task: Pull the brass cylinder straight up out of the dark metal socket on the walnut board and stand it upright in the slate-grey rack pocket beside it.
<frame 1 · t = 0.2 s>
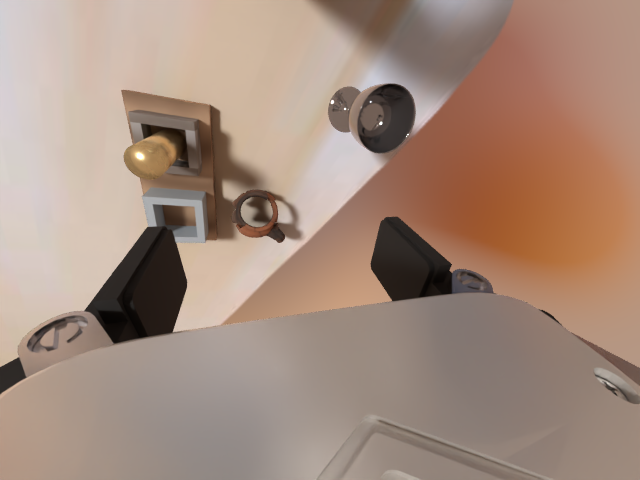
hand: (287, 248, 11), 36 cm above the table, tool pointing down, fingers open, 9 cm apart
pottery mug: (259, 213, 49), on the table
tool board: (180, 176, 41), on the table
brass cylinder: (173, 142, 37), point 1 cm above the table, touching tool board
wine glass: (347, 110, 42), on the table
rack: (183, 207, 44), resting on tool board
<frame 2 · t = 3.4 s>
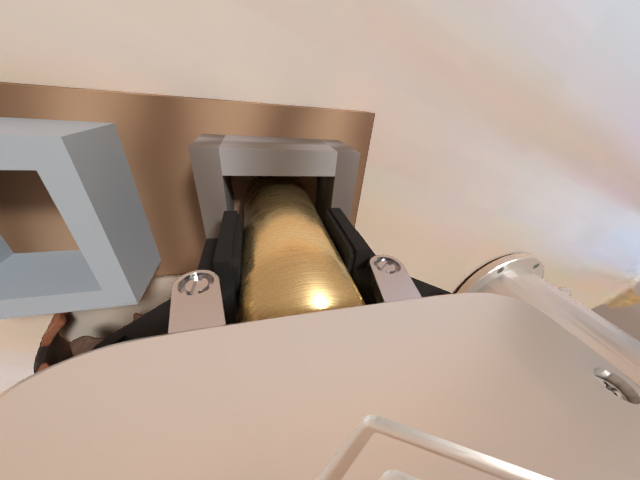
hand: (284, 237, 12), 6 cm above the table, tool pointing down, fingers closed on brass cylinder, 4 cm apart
pottery mug: (129, 332, 21), on the table
tool board: (181, 192, 15), on the table
brass cylinder: (276, 200, 16), point 2 cm above the table, touching gripper, tool board
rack: (69, 194, 14), resting on tool board
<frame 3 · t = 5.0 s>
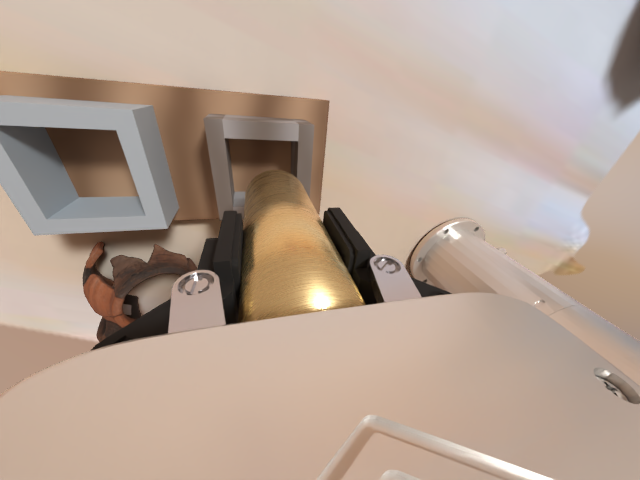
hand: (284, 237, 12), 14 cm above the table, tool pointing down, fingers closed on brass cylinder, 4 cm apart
pottery mug: (146, 270, 27), on the table
tool board: (193, 158, 22), on the table
brass cylinder: (276, 199, 16), point 10 cm above the table, touching gripper
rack: (116, 156, 20), resting on tool board
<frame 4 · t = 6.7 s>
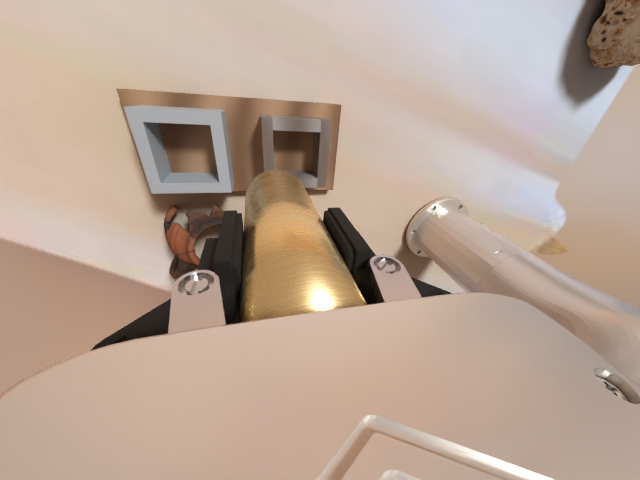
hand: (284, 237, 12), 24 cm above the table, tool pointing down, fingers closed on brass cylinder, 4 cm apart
pottery mug: (201, 229, 36), on the table
tool board: (245, 146, 31), on the table
brass cylinder: (276, 199, 16), point 19 cm above the table, touching gripper
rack: (195, 145, 29), resting on tool board
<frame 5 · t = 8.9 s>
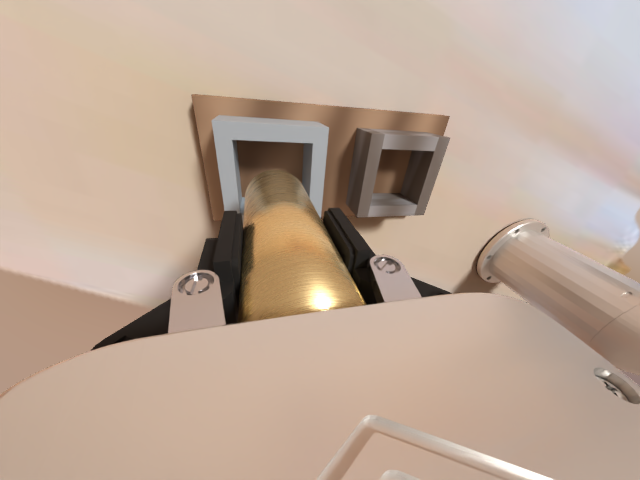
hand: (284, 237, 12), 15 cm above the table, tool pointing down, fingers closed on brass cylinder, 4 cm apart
tool board: (327, 164, 25), on the table
brass cylinder: (276, 199, 16), point 10 cm above the table, touching gripper
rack: (270, 163, 24), resting on tool board
when the fingers open (8 cm above the table, at t = 10.4 s): brass cylinder drops 2 cm, resting on tool board.
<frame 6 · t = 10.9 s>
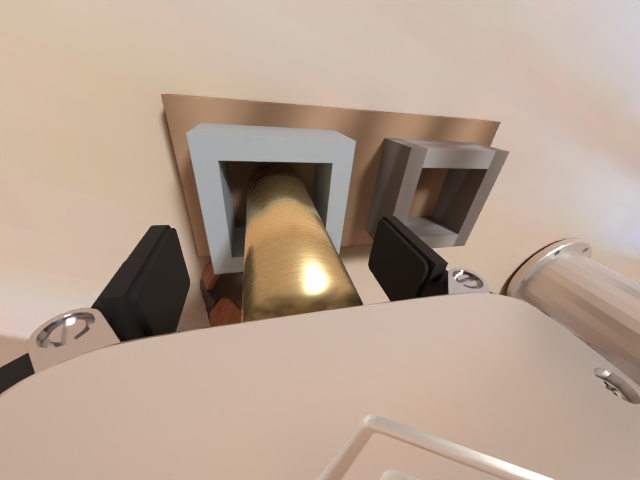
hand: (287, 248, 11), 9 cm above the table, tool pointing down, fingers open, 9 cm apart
pottery mug: (251, 288, 24), on the table
tool board: (344, 182, 20), on the table
brass cylinder: (276, 190, 17), point 2 cm above the table, touching tool board
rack: (272, 182, 19), resting on tool board
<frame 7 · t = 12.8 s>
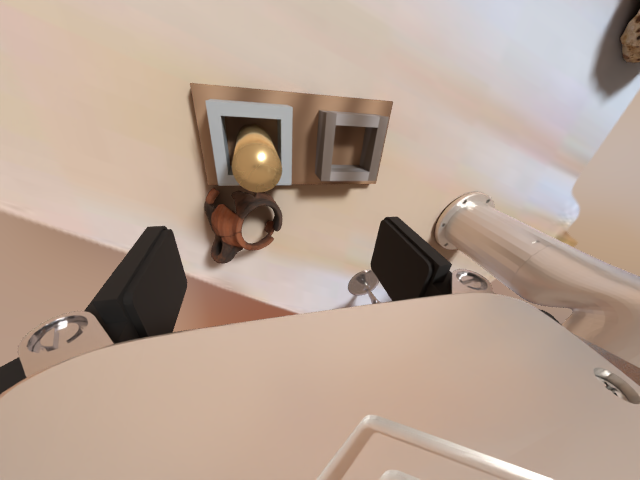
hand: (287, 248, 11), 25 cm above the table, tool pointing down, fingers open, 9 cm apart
pottery mug: (239, 214, 35), on the table
tool board: (298, 140, 32), on the table
brass cylinder: (254, 141, 29), point 2 cm above the table, touching tool board
wine glass: (363, 282, 50), on the table
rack: (252, 139, 30), resting on tool board
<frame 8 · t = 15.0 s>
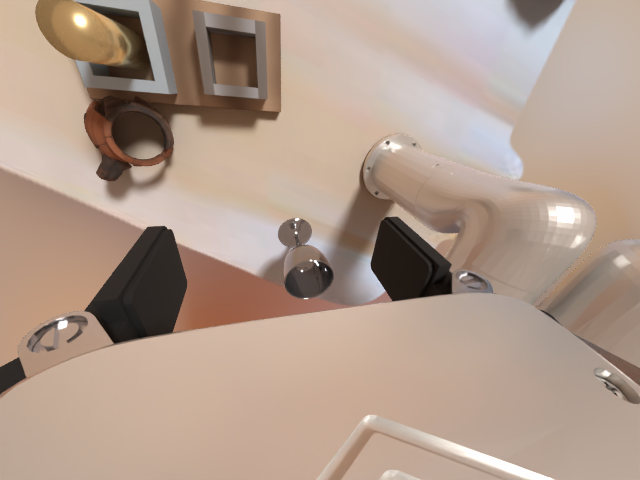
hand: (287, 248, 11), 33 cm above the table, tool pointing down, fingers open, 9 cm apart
pottery mug: (134, 136, 34), on the table
tool board: (188, 57, 31), on the table
brass cylinder: (132, 49, 28), point 1 cm above the table, touching tool board
wine glass: (295, 232, 50), on the table
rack: (135, 51, 30), resting on tool board
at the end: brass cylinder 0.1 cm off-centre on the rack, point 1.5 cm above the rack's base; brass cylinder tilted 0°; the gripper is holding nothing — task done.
